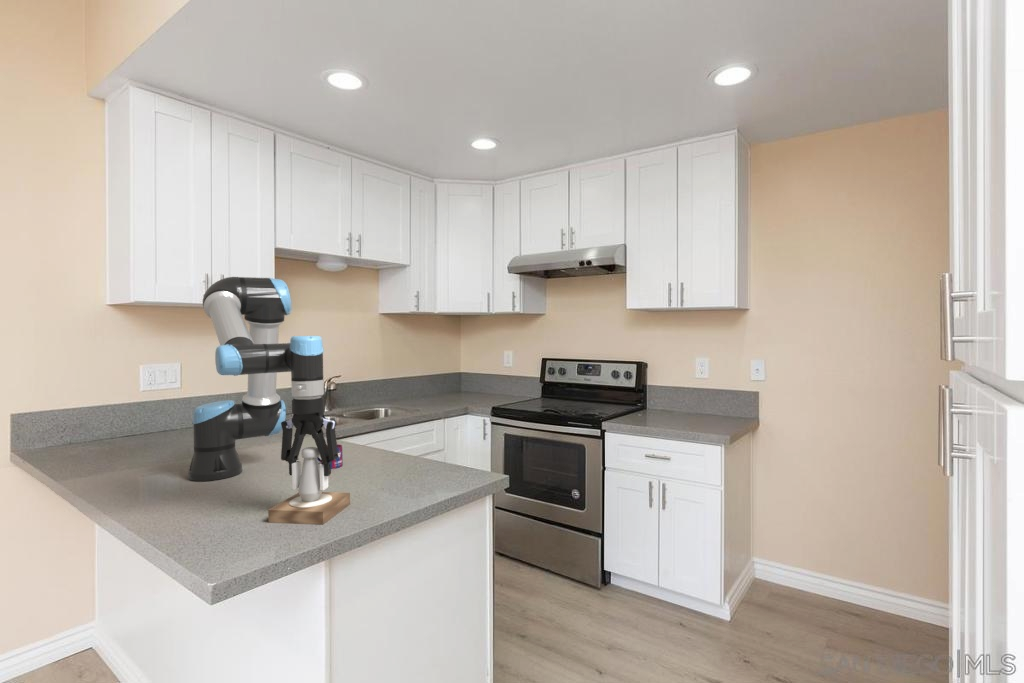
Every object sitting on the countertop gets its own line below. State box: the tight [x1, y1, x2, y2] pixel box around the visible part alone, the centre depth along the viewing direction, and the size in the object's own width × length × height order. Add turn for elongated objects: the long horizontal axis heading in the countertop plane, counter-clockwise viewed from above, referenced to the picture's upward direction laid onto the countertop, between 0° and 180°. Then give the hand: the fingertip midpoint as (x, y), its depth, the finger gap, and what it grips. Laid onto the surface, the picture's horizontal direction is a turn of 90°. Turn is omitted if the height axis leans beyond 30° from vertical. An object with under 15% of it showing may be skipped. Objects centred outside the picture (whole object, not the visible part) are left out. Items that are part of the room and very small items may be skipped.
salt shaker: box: [297, 446, 324, 502], centre depth 129 cm, size 6×6×13 cm
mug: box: [317, 443, 344, 470], centre depth 174 cm, size 7×10×7 cm
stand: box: [267, 491, 351, 525], centre depth 129 cm, size 14×14×3 cm
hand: (310, 488), depth 129 cm, fingers open, 7 cm apart
